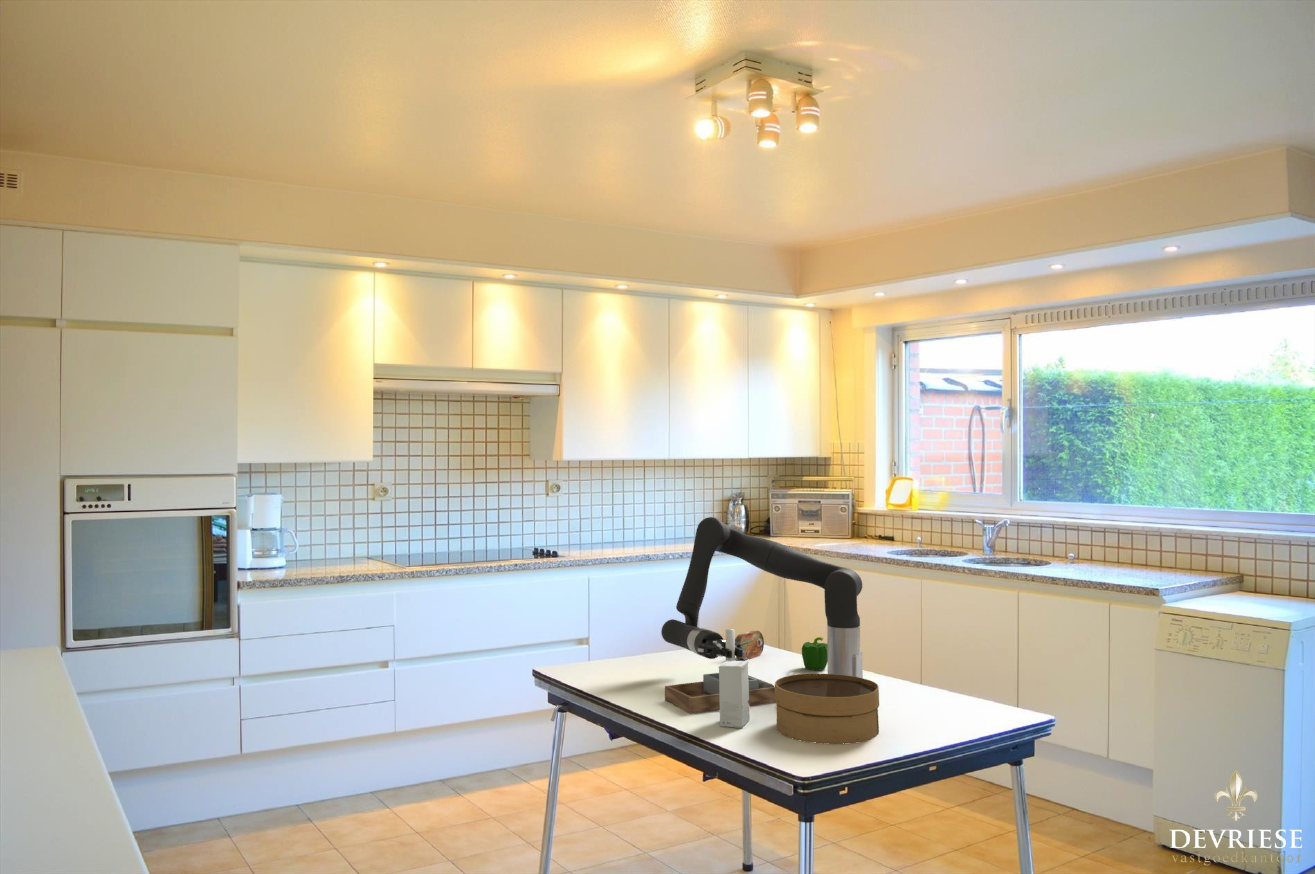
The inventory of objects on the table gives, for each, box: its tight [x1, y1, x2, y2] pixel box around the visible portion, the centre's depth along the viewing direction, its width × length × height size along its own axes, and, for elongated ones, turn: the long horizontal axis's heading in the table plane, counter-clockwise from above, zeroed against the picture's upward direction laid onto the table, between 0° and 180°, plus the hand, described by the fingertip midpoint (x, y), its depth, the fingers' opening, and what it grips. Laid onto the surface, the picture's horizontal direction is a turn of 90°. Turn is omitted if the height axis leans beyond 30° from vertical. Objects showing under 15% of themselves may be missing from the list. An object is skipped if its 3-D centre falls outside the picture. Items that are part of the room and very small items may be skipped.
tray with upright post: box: [702, 628, 760, 695], centre depth 265 cm, size 10×12×18 cm
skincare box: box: [718, 660, 750, 729], centre depth 242 cm, size 8×6×15 cm
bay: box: [664, 674, 776, 715], centre depth 263 cm, size 26×15×5 cm, turn 116°
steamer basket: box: [774, 673, 880, 745], centre depth 236 cm, size 25×25×11 cm
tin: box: [735, 630, 765, 661], centre depth 321 cm, size 15×3×8 cm, turn 143°
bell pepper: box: [801, 636, 828, 671], centre depth 303 cm, size 8×8×10 cm
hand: (735, 653), depth 262 cm, fingers closed on tray with upright post, 2 cm apart
